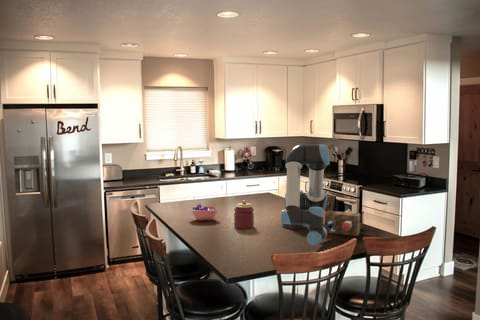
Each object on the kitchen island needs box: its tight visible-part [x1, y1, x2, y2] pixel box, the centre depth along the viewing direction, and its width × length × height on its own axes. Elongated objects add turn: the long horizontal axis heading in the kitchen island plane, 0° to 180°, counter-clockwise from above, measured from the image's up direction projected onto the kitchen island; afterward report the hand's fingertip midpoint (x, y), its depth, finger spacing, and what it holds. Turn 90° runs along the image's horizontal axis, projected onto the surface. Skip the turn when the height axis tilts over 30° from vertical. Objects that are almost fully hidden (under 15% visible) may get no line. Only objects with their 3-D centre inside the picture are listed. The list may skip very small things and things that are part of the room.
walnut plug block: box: [324, 210, 361, 237], centre depth 268 cm, size 20×8×12 cm, turn 64°
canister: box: [233, 199, 255, 230], centre depth 280 cm, size 13×13×18 cm
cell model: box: [189, 203, 219, 222], centre depth 300 cm, size 17×20×11 cm
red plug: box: [341, 220, 353, 232], centre depth 259 cm, size 5×13×5 cm, turn 154°
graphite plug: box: [327, 218, 337, 226], centre depth 269 cm, size 5×13×5 cm, turn 154°
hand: (331, 223), depth 262 cm, fingers closed
